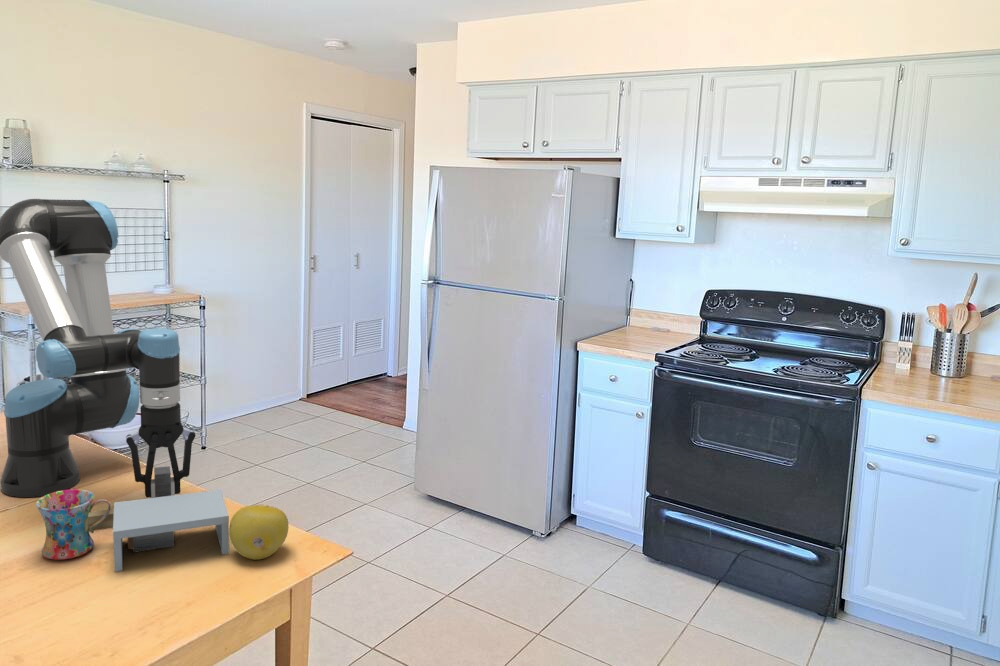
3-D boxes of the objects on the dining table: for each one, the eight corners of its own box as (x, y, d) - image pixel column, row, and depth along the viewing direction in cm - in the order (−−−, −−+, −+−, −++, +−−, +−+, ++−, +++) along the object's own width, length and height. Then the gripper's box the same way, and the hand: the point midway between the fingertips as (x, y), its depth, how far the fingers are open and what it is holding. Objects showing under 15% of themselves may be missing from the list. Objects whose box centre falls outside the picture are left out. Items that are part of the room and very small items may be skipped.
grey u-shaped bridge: (115, 540, 141) (114, 502, 140) (221, 525, 150) (220, 489, 148) (114, 573, 130) (113, 531, 128) (229, 554, 139) (228, 515, 137)
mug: (40, 568, 130) (37, 513, 128) (37, 547, 137) (34, 494, 135) (115, 553, 137) (113, 500, 135) (109, 533, 144) (106, 483, 142)
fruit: (294, 559, 138) (295, 510, 136) (236, 572, 133) (235, 521, 131) (280, 537, 147) (280, 490, 145) (224, 547, 141) (223, 500, 139)
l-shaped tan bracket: (65, 534, 142) (63, 501, 141) (66, 528, 145) (64, 495, 144) (122, 526, 147) (121, 494, 146) (122, 520, 150) (121, 488, 148)
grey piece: (132, 510, 154) (131, 470, 152) (170, 505, 157) (169, 466, 155) (133, 552, 137) (132, 507, 135) (175, 545, 140) (174, 502, 138)
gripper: (116, 412, 143) (120, 522, 147) (203, 406, 150) (205, 511, 155) (116, 401, 149) (120, 507, 154) (200, 396, 157) (202, 497, 161)
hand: (163, 509), depth 154 cm, fingers closed on grey piece, 3 cm apart
